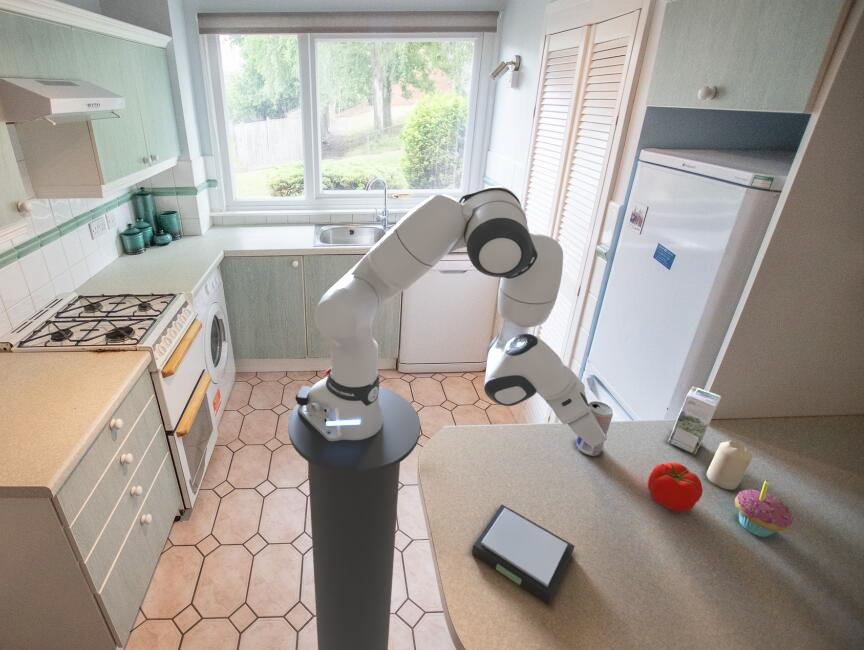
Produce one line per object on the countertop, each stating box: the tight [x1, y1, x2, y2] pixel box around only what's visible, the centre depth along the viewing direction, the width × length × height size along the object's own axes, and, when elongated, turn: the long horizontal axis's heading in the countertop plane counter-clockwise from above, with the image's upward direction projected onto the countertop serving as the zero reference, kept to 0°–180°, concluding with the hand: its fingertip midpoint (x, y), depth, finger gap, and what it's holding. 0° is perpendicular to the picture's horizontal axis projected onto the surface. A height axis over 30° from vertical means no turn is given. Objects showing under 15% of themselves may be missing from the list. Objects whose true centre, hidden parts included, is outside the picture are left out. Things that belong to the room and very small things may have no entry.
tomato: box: [647, 462, 703, 512], centre depth 93 cm, size 9×9×8 cm
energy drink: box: [575, 400, 614, 457], centre depth 105 cm, size 5×5×12 cm
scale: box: [471, 503, 575, 605], centre depth 82 cm, size 14×12×3 cm
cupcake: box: [734, 478, 795, 537], centre depth 86 cm, size 9×8×12 cm
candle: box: [706, 439, 754, 491], centre depth 97 cm, size 6×6×10 cm
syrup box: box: [667, 385, 722, 455], centre depth 106 cm, size 6×6×14 cm
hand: (597, 427), depth 105 cm, fingers closed on energy drink, 5 cm apart
